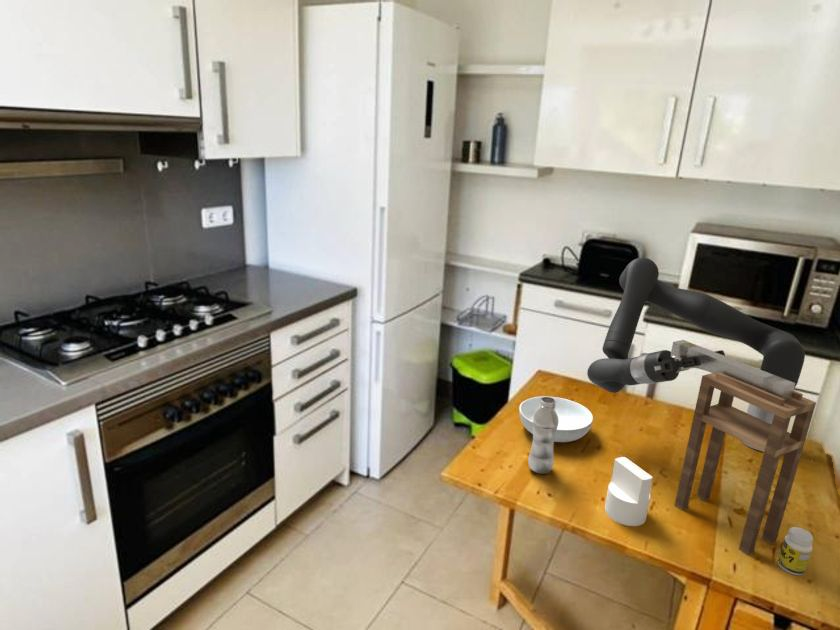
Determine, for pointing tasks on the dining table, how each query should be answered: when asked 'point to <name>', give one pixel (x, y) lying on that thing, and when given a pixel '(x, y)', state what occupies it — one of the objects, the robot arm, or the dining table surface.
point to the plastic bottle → (543, 436)
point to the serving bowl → (560, 418)
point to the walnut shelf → (755, 434)
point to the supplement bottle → (796, 551)
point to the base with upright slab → (628, 493)
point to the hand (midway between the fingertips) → (711, 357)
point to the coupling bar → (734, 369)
